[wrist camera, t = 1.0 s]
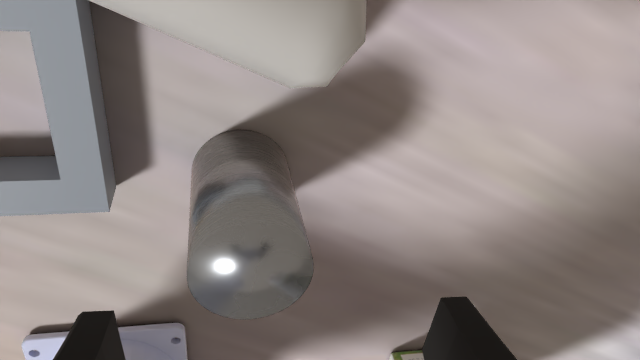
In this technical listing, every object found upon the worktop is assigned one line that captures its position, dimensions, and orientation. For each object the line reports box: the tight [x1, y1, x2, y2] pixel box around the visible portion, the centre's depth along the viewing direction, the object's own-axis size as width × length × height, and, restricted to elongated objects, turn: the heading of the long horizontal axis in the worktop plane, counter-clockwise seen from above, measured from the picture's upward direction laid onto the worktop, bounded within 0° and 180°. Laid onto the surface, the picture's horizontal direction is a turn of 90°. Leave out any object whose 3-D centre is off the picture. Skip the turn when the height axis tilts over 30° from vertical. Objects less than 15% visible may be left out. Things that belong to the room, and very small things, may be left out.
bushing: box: [187, 130, 314, 319], centre depth 21 cm, size 4×4×7 cm
